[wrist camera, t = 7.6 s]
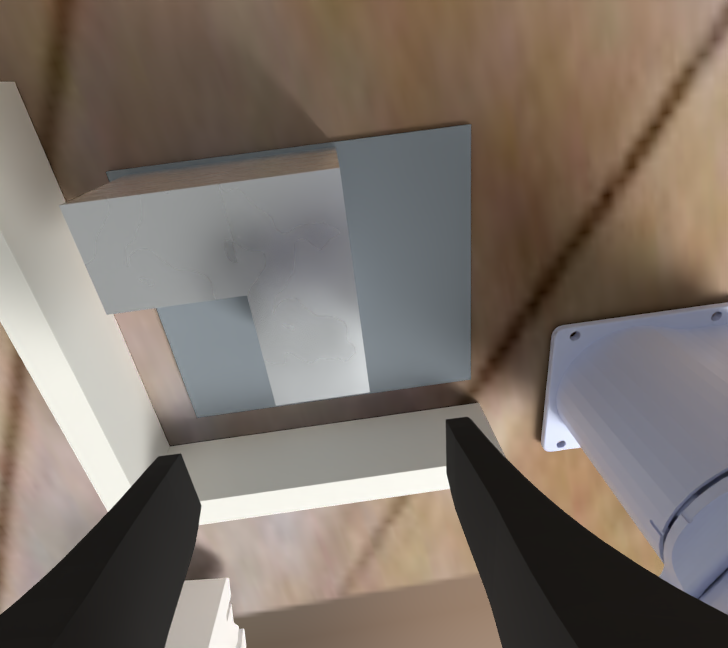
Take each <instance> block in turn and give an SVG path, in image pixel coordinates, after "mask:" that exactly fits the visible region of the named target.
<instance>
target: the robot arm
mask: <svg viewBox="0 0 728 648" xmlns="http://www.w3.org/2000/svg"><path fill="white" fill-rule="evenodd" d="M714 313H715V314H714ZM713 314H714V315H713ZM712 315H713V316H712ZM575 331H577V332H576V334H575V335H574V336H572V337H570V335H571V334H572V333H573V332H575ZM559 441H561V442H559ZM558 442H559V443H558ZM541 445H542V447H543V448H544V450H545V451H548V452H552V451H559V450H566V449H573V448H580V447H581V448H582V450H583V451H584V452H585V454H586V455H587V457H588V458H589V459H590V461H591V462H592V464H593V465H594V466H595V468H596V469H597V471H598V472H599V473H600V475H601V476H602V478H603V479H604V480H605V482H606V483H607V485H608V486H609V487H610V489H611V490H612V492H613V493H614V495H615V496H616V497H617V499H618V500H619V502H620V503H621V504H622V506H623V507H624V509H625V510H626V511H627V513H628V514H629V516H630V517H631V518H632V520H633V521H634V523H635V524H636V525H637V527H638V528H639V530H640V531H641V532H642V534H643V535H644V537H645V538H646V539H647V541H648V542H649V544H650V545H651V546H652V548H653V549H654V551H655V552H656V553H657V555H658V556H659V558H660V559H661V561H662V562H663V563H664V569H663V571H662V573H661V574H660V576H659V577H658V576H656V575H655V574H653V573H651V572H650V571H648V570H646V569H645V568H643V567H641V566H640V565H638V564H637V563H635V562H634V561H632V560H631V559H629V558H628V557H626V556H625V555H623V554H622V553H620V552H619V551H617V550H616V549H614V548H613V547H611V546H610V545H608V544H607V543H605V542H604V541H602V540H601V539H599V538H598V537H597V536H595V535H594V534H593V533H591V532H590V531H589V530H587V529H586V528H584V527H583V526H582V525H581V524H579V523H578V522H577V521H575V520H574V519H573V518H572V517H570V516H569V515H568V514H566V513H565V512H564V511H563V510H562V509H560V508H559V507H558V506H557V505H556V504H554V503H553V502H552V501H551V500H550V499H549V498H547V497H546V496H545V495H544V494H543V493H542V492H541V491H540V490H538V489H537V488H536V487H535V486H534V485H533V484H532V483H531V482H530V481H529V480H528V479H527V478H526V477H524V476H523V475H522V474H521V473H520V472H519V471H518V470H517V469H516V468H515V467H514V466H513V465H512V464H511V463H510V462H509V461H508V460H507V459H506V458H505V457H504V456H503V454H502V453H501V452H500V451H499V450H498V449H497V448H496V447H495V446H494V445H493V444H492V443H491V442H490V440H489V439H488V438H487V437H486V436H485V435H484V434H483V432H482V431H481V430H480V429H479V428H478V427H477V425H476V424H475V423H474V422H473V421H472V419H470V418H469V417H461V418H453V419H446V474H447V478H448V482H449V486H450V490H451V494H452V498H453V502H454V506H455V509H456V512H457V515H458V518H459V520H460V523H461V526H462V529H463V531H464V534H465V537H466V539H467V542H468V545H469V547H470V550H471V553H472V555H473V558H474V561H475V563H476V566H477V569H478V571H479V574H480V577H481V579H482V582H483V585H484V587H485V590H486V593H487V596H488V599H489V602H490V605H491V608H492V611H493V615H494V618H495V622H496V626H497V629H498V633H499V636H500V640H501V644H502V647H503V648H728V302H726V303H719V304H711V305H704V306H697V307H690V308H683V309H675V310H668V311H661V312H654V313H646V314H639V315H632V316H625V317H618V318H610V319H603V320H596V321H589V322H582V323H574V324H567V325H561V326H558V327H557V328H556V329H555V330H554V331H553V333H552V337H551V347H550V357H549V367H548V377H547V386H546V396H545V406H544V416H543V426H542V436H541ZM200 513H201V503H200V500H199V498H198V495H197V493H196V490H195V488H194V485H193V483H192V480H191V478H190V475H189V472H188V470H187V467H186V465H185V462H184V460H183V457H182V455H181V453H180V454H173V455H165V456H158V457H157V458H156V459H155V461H154V462H153V463H152V464H151V465H150V466H149V467H148V468H147V469H146V470H145V472H144V473H143V474H142V475H141V476H140V477H139V478H138V479H137V481H136V482H135V483H134V484H133V485H132V486H131V487H130V488H129V490H128V491H127V492H126V493H125V494H124V495H123V496H122V497H121V499H120V500H119V501H118V502H117V503H116V504H115V505H114V506H113V507H112V508H111V510H110V511H109V512H108V513H107V514H106V515H105V516H104V517H103V518H102V519H101V521H100V522H99V523H98V524H97V525H96V526H95V527H94V528H93V529H92V530H91V531H90V532H89V533H88V534H87V535H86V536H85V537H84V538H83V539H82V540H81V541H80V542H79V543H78V544H77V545H76V546H75V547H74V548H73V549H72V550H71V551H70V552H69V553H68V554H67V555H66V556H65V557H64V558H63V559H62V560H61V561H60V562H59V563H58V564H57V565H56V566H55V567H54V568H53V569H52V570H51V571H50V572H49V573H48V574H47V575H46V576H44V577H43V578H42V579H41V580H40V581H39V582H38V583H37V584H36V585H34V586H33V587H32V588H31V589H30V590H29V591H28V592H27V593H26V594H24V595H23V596H22V597H21V598H20V599H19V600H18V601H16V602H15V603H14V604H13V605H12V606H11V607H9V608H8V609H7V610H6V611H4V612H3V613H2V614H1V615H0V648H165V645H166V641H167V637H168V633H169V630H170V627H171V623H172V620H173V617H174V613H175V610H176V607H177V603H178V600H179V597H180V594H181V590H182V587H183V584H184V580H185V577H186V574H187V570H188V567H189V564H190V560H191V557H192V553H193V550H194V546H195V542H196V537H197V531H198V526H199V519H200Z"/></svg>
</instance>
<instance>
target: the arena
mask: <svg viewBox="0 0 728 648" xmlns="http://www.w3.org/2000/svg"><path fill="white" fill-rule="evenodd" d="M63 203H65V199H64V197H63V195H62V192H61V190H60V187H59V185H58V183H57V180H56V178H55V176H54V173H53V171H52V169H51V166H50V164H49V162H48V159H47V157H46V155H45V152H44V150H43V148H42V145H41V143H40V140H39V138H38V136H37V133H36V131H35V129H34V126H33V124H32V122H31V119H30V117H29V115H28V112H27V110H26V108H25V105H24V103H23V101H22V98H21V96H20V93H19V91H18V89H17V86H16V84H15V82H0V322H1V324H2V326H3V327H4V329H5V331H6V333H7V334H8V336H9V338H10V340H11V341H12V343H13V345H14V347H15V348H16V350H17V352H18V354H19V356H20V357H21V359H22V361H23V363H24V364H25V366H26V368H27V370H28V371H29V373H30V375H31V377H32V379H33V380H34V382H35V384H36V386H37V387H38V389H39V391H40V393H41V394H42V396H43V398H44V400H45V402H46V403H47V405H48V407H49V409H50V410H51V412H52V414H53V416H54V417H55V419H56V421H57V423H58V425H59V426H60V428H61V430H62V432H63V433H64V435H65V437H66V439H67V440H68V442H69V444H70V446H71V447H72V449H73V451H74V453H75V455H76V456H77V458H78V460H79V462H80V463H81V465H82V467H83V469H84V470H85V472H86V474H87V476H88V478H89V479H90V481H91V483H92V485H93V486H94V488H95V490H96V492H97V493H98V495H99V497H100V499H101V501H102V502H103V504H104V506H105V508H106V509H107V511H108V512H109V511H110V510H111V508H112V507H113V506H114V505H115V504H116V503H117V502H118V501H119V500H120V499H121V497H122V496H123V495H124V494H125V493H126V492H127V491H128V490H129V488H130V487H131V486H132V485H133V484H134V483H135V482H136V481H137V479H138V478H139V477H140V476H141V475H142V474H143V473H144V472H145V470H146V469H147V468H148V467H149V466H150V465H151V464H152V463H153V462H154V461H155V459H156V458H157V457H158V456H165V455H173V454H180V453H181V455H182V457H183V460H184V462H185V465H186V467H187V470H188V472H189V475H190V478H191V480H192V483H193V485H194V488H195V490H196V493H197V495H198V498H199V500H200V503H201V513H200V519H199V525H203V524H210V523H217V522H224V521H230V520H237V519H244V518H251V517H258V516H265V515H272V514H279V513H286V512H293V511H300V510H306V509H313V508H320V507H327V506H334V505H341V504H348V503H355V502H362V501H369V500H376V499H382V498H389V497H396V496H403V495H410V494H417V493H424V492H431V491H438V490H445V489H450V486H449V482H448V478H447V474H446V419H453V418H461V417H469V418H470V419H472V421H473V422H474V423H475V424H476V425H477V427H478V428H479V429H480V430H481V431H482V432H483V434H484V435H485V436H486V437H487V438H488V439H489V440H490V442H491V443H492V444H493V445H494V446H495V447H496V448H497V449H498V450H499V451H500V452H501V453H502V454H503V456H504V457H505V455H504V453H503V451H502V449H501V447H500V445H499V443H498V441H497V439H496V437H495V435H494V433H493V431H492V428H491V426H490V424H489V422H488V420H487V418H486V416H485V414H484V412H483V410H482V408H481V406H480V404H479V403H473V404H466V405H459V406H452V407H445V408H438V409H431V410H424V411H417V412H410V413H403V414H396V415H389V416H381V417H374V418H367V419H360V420H353V421H346V422H339V423H332V424H325V425H318V426H311V427H304V428H297V429H290V430H282V431H275V432H268V433H261V434H254V435H247V436H240V437H233V438H226V439H219V440H212V441H205V442H198V443H191V444H183V445H176V446H169V444H168V441H167V439H166V437H165V434H164V432H163V429H162V427H161V425H160V422H159V420H158V418H157V415H156V413H155V411H154V408H153V406H152V404H151V401H150V399H149V397H148V394H147V392H146V390H145V387H144V385H143V383H142V380H141V378H140V375H139V373H138V371H137V368H136V366H135V364H134V361H133V359H132V357H131V354H130V352H129V350H128V347H127V345H126V343H125V340H124V338H123V336H122V333H121V331H120V328H119V326H118V324H117V321H116V319H115V317H114V314H109V315H106V312H105V310H104V308H103V305H102V303H101V301H100V299H99V296H98V294H97V292H96V289H95V287H94V285H93V283H92V280H91V278H90V276H89V273H88V271H87V269H86V267H85V264H84V262H83V260H82V257H81V255H80V253H79V250H78V248H77V246H76V244H75V241H74V239H73V237H72V234H71V232H70V230H69V228H68V225H67V223H66V221H65V218H64V216H63V214H62V212H61V209H60V207H59V205H61V204H63ZM505 458H506V457H505Z"/></svg>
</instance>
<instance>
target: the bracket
mask: <svg viewBox="0 0 728 648" xmlns="http://www.w3.org/2000/svg"><path fill="white" fill-rule="evenodd" d="M59 207H60V209H61V212H62V214H63V216H64V218H65V221H66V223H67V225H68V228H69V230H70V232H71V234H72V237H73V239H74V241H75V244H76V246H77V248H78V250H79V253H80V255H81V257H82V260H83V262H84V264H85V267H86V269H87V271H88V273H89V276H90V278H91V280H92V283H93V285H94V287H95V289H96V292H97V294H98V296H99V299H100V301H101V303H102V305H103V308H104V310H105V312H106V315H109V314H116V313H124V312H131V311H138V310H145V309H152V308H160V307H167V306H174V305H181V304H189V303H196V302H203V301H210V300H218V299H225V298H232V297H239V296H247V298H248V302H249V306H250V309H251V313H252V317H253V321H254V325H255V328H256V332H257V336H258V340H259V344H260V347H261V351H262V355H263V359H264V363H265V366H266V370H267V374H268V378H269V382H270V385H271V389H272V393H273V397H274V401H275V404H276V406H278V405H285V404H292V403H299V402H306V401H313V400H320V399H327V398H334V397H341V396H348V395H355V394H362V393H369V392H370V389H369V382H368V374H367V367H366V359H365V352H364V345H363V337H362V330H361V322H360V315H359V307H358V300H357V293H356V285H355V278H354V270H353V263H352V255H351V248H350V241H349V233H348V226H347V218H346V211H345V203H344V196H343V189H342V181H341V174H340V167H339V162H338V157H337V152H336V147H329V148H322V149H314V150H307V151H299V152H292V153H284V154H277V155H269V156H262V157H254V158H247V159H239V160H232V161H224V162H217V163H209V164H201V165H194V166H186V167H179V168H171V169H164V170H156V171H149V172H141V173H134V174H127V175H124V176H122V177H120V178H118V179H116V180H114V181H111V182H109V183H107V184H105V185H103V186H100V187H98V188H96V189H94V190H92V191H89V192H87V193H85V194H83V195H81V196H78V197H76V198H74V199H72V200H70V201H67V202H65V203H63V204H61V205H59Z"/></svg>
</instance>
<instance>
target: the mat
mask: <svg viewBox="0 0 728 648" xmlns="http://www.w3.org/2000/svg"><path fill="white" fill-rule="evenodd" d="M329 147H336V152H337V157H338V162H339V167H340V174H341V181H342V189H343V196H344V203H345V211H346V218H347V226H348V233H349V241H350V248H351V255H352V263H353V270H354V278H355V285H356V293H357V300H358V307H359V315H360V322H361V330H362V337H363V345H364V352H365V359H366V367H367V374H368V382H369V389H370V392H369V393H362V394H355V395H348V396H341V397H334V398H327V399H320V400H313V401H306V402H314V401H321V400H328V399H335V398H342V397H349V396H356V395H363V394H371V393H378V392H385V391H392V390H399V389H406V388H413V387H420V386H427V385H435V384H442V383H449V382H456V381H463V380H470V379H471V124H467V125H459V126H451V127H444V128H436V129H428V130H421V131H413V132H405V133H397V134H390V135H382V136H374V137H367V138H359V139H351V140H344V141H336V142H328V143H321V144H313V145H305V146H298V147H290V148H282V149H275V150H267V151H259V152H251V153H244V154H236V155H228V156H221V157H213V158H205V159H198V160H190V161H182V162H175V163H167V164H159V165H152V166H144V167H136V168H129V169H121V170H113V171H107V172H106V174H107V177H108V179H109V182H111V181H114V180H116V179H118V178H120V177H122V176H124V175H127V174H134V173H141V172H149V171H156V170H164V169H171V168H179V167H186V166H194V165H201V164H209V163H217V162H224V161H232V160H239V159H247V158H254V157H262V156H269V155H277V154H284V153H292V152H299V151H307V150H314V149H322V148H329ZM156 309H157V311H158V314H159V317H160V319H161V322H162V325H163V327H164V330H165V333H166V336H167V338H168V341H169V344H170V346H171V349H172V352H173V354H174V357H175V360H176V362H177V365H178V368H179V370H180V373H181V376H182V379H183V381H184V384H185V387H186V389H187V392H188V395H189V397H190V400H191V403H192V405H193V408H194V411H195V414H196V416H197V418H200V417H207V416H214V415H221V414H228V413H235V412H242V411H249V410H257V409H264V408H271V407H278V406H285V405H292V404H299V403H306V402H299V403H292V404H285V405H278V406H276V404H275V401H274V397H273V393H272V389H271V385H270V382H269V378H268V374H267V370H266V366H265V363H264V359H263V355H262V351H261V347H260V344H259V340H258V336H257V332H256V328H255V325H254V321H253V317H252V313H251V309H250V306H249V302H248V298H247V296H239V297H232V298H225V299H218V300H210V301H203V302H196V303H189V304H181V305H174V306H167V307H160V308H156Z"/></svg>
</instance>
